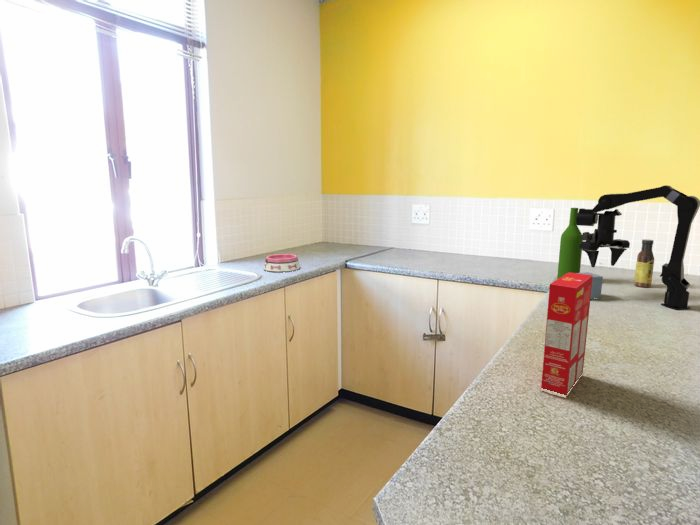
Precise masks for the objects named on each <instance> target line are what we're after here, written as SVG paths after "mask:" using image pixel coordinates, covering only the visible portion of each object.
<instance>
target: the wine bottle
mask: <svg viewBox="0 0 700 525" xmlns="http://www.w3.org/2000/svg"><path fill="white" fill-rule="evenodd" d="M578 212H579V207H571V208H570V214H569V215H570V216H569V222H568V226H567V227H566V228H565V230H564V231H563V232H562V234H561V236H560V242H559V253H558V265H557V276H556V280H557V279H559V278H560V277H562V276H564V275H565V274H567V273H568V272H570V273H581V266H582V264H581V263H582V255H583V250H582V249H579V247H580V243H581V242H583V240H582V234H583V233H582V232H581V230H580V228H579V225H577V223H576V217H577V215H578Z"/></svg>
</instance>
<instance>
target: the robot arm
mask: <svg viewBox="0 0 700 525" xmlns="http://www.w3.org/2000/svg"><path fill="white" fill-rule="evenodd" d="M657 198H658V199H659V198H664V199H666V200H667V201H668V202H670V203H671V204H673V205H675V206H676V210H677V211H676V214H677V226H676V231H675V235H674V241H673V243H672V244H673V245H672V249H671V253H670V258H669V261H668V263H667V262H666V263H664V264H663V265H661V273H660V275H659V277H661V283H663V285H664V286H666V291H665V294H664V299H663V300H664V301H663V303H661V304H660V305H661V306H663V307H667V308H670V309H672V310H676V311H678V310H687V309H689V310H690V309H691V306H689V305H688V304H689V299H690V298H689V297H690V291H688V289H689V288H690V286H691V283H690V282H689V281H688V280H687V279H686V278H685V266H684V264H685V263H684V258H685V254H686V250H687V246H688V242H689V237H690V232H691V228H692V224H693V222H694V219H695V217H696V216H697V214H698V211H699V208H700V199H699V198H698V197H697V196H695V195H687V194H685V193H684V192H681V191H680V190H678V189H676V188H674V187H672V186H671V185H667V184H666V185H661V186H659V187H654V188H650V189H649V188H648V189H643V190H639V191H633V192H628V193H607V194H603V195H601V196H600V197H599V199H598V200H597V203H596V205H595V206H593V208H591V209H590V208H578V215H577V217H576V223H577V226H580V227H594V226H595V225H596V224H597V228H595V229H594V232H593V233H590V232H589V231H585V232H582V233H581V234H582V240H583V242H581V243H580V247H579V249H582V252H583V251H584V252H585V253H586V254H587V257H588V260H589V263H590V266H591V268H595V267H596V264H597V260H598V257H599V253H600V251H599V250H598V249H599V248H609V250H610V251H611V252H610V254H611V255H610V266H611V267H614V266H615V265H616V263H617V262H618V260H619V259H620V258H621V256H622V255H623V253H624V252H625V251H627V249H630V244H631V243H630V241H629V240H626V239H620V238H619V239H618V238H617V239H614V236H615V234H616V233H617V232H618V230H617V229H615V226H616V217H619V216H622V215H623V214H622V212H621V211H619V209H618V207H621V206H624V205H626V204H629V203H635V202H640V201H646V200H651V199H657ZM611 209H614V210H611ZM603 211H604V212H603ZM599 212H600V213H599ZM602 212H603V213H602Z"/></svg>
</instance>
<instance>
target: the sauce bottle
mask: <svg viewBox="0 0 700 525" xmlns="http://www.w3.org/2000/svg"><path fill="white" fill-rule="evenodd" d="M653 245H654V240H653V239H645V238H644V239H641V250H640V251H639V252H638V254H637V257H636V258H637V259H636V264H635V270H634V271H635V272H634V280H633V281H634V282H633V285H634V286H635V287H640V288H650V287H651V285H652V281H653V274H654V273H653V272H654V266H655V256H654V253H653Z"/></svg>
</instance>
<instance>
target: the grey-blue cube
mask: <svg viewBox="0 0 700 525" xmlns="http://www.w3.org/2000/svg"><path fill="white" fill-rule="evenodd" d="M578 274H586V275H593V279H592V288H591V298H590V299H592V300H595V299H594V298H602V287H603V278H604V276H603V275H600V274H595V273H591V272H587V271H586V272H580V273H578Z"/></svg>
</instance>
